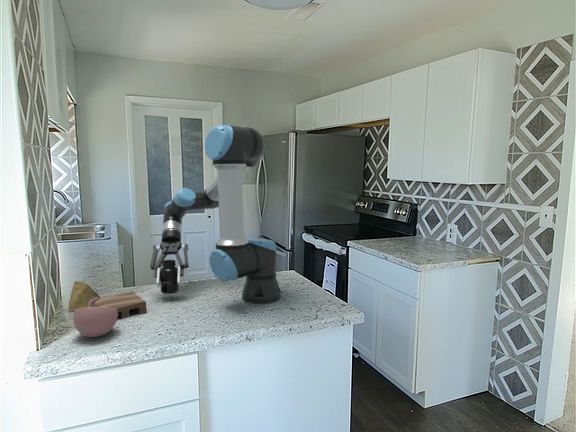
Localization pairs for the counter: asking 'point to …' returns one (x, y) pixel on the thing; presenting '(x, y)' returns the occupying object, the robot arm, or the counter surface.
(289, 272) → the counter surface
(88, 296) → the rock
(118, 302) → the block
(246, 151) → the robot arm
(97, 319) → the mortar and pestle
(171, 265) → the supplement bottle
